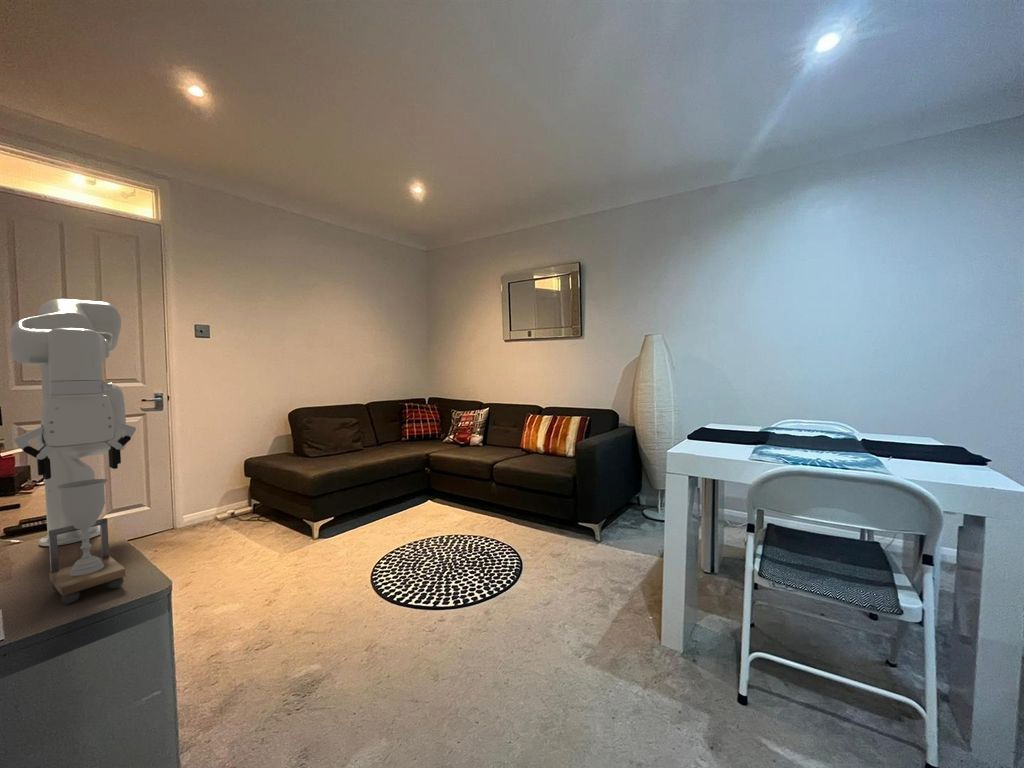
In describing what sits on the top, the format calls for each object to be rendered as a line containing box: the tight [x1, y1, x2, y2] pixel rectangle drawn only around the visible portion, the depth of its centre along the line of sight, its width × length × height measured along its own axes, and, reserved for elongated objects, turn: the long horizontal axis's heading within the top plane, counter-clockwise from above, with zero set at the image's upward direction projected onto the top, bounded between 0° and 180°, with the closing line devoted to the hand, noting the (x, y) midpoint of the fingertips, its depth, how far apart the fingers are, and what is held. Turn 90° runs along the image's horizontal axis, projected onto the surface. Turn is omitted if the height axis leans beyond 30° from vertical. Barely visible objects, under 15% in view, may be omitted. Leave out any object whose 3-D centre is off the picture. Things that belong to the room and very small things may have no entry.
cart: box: [47, 517, 126, 605], centre depth 85 cm, size 12×9×12 cm
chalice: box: [57, 478, 108, 576], centre depth 85 cm, size 7×7×18 cm
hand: (81, 472), depth 85 cm, fingers open, 9 cm apart
